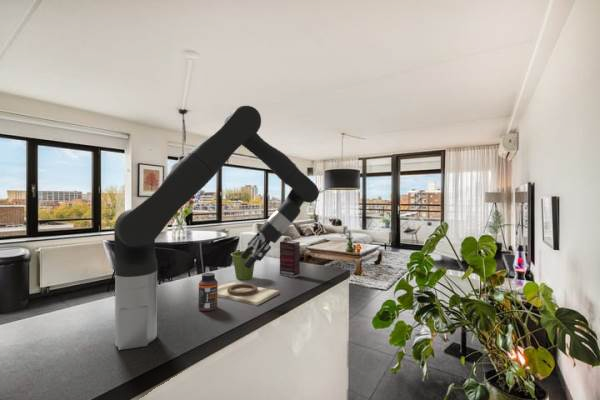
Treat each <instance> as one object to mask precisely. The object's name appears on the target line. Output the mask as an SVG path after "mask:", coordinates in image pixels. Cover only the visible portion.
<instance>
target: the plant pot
mask: <svg viewBox="0 0 600 400" xmlns="http://www.w3.org/2000/svg"><path fill="white" fill-rule="evenodd" d="M244 251H245V250H241V251H235V252H232V253H230V256H231V258H232V261H233V262H232V263H233V268H234V273H235V279H236V280H239V281H242V280H245V281H247V280H251V279H252V278H253V277H254V270H255V269H254V268H255V263H256V262H255V263H254V264H253V265H252V266H251V267H250V268H249V269H248V268H247V267H245V265H244V264H245V263H246V261H247V260H248V259H249V258H250V257H251V256H252V254H253V252H254V251H252V253H251V254H250V255H249V256H248V257H247V259H243V258H242V257H241V254H242V253H243V252H244Z"/></svg>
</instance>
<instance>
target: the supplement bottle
mask: <svg viewBox="0 0 600 400" xmlns="http://www.w3.org/2000/svg"><path fill="white" fill-rule="evenodd" d="M215 277H216V275H215V273H214V272H205V273H202V274H201V280H199V282H198V297H197V298H198V302H197V305H198V306H197V307H198V310H199V311H201V312H211V311H213V310H216V309H217V307H218V297H217V289H218V288H217V287H218V283H219V282H218V280H217V279H216V278H215Z"/></svg>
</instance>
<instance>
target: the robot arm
mask: <svg viewBox="0 0 600 400" xmlns="http://www.w3.org/2000/svg"><path fill="white" fill-rule="evenodd" d="M261 117H262V116H261V114H260V112H259V110H257V109H256V108H255V107H254V106H251V105H241V106H238V107H237V108H234V110H233V111H231V112H230V113H229V114H228V115H227V116H226V117H225V119H224V124H223V125H222V126H221V127H220V128H219V129H218V130H217V131H216V132H215V133H213V134H211V135H210V136H209V137H207V138H206V139H205V140H203V141H201V142H200V143H199V144H198V145H196V146H195V147H194V148H192V149H191V150H190V151H189V152H188V153H187V154H186V155H185V156H184V157H182V159H180V161H178V163H177V164H176V165H175V166H174V167H173V168H172V169H171V170H170V172H169V173H168V174H167V176H166V177H165V178H164V180H163V181H162V183H161V185H160V186H159V187H158V188H157V189H156V190H155V191H154V192H153V193H152V194H151V195H149V197H147V198H146V199H145V200H144V201H143V202H142V203H139V205H137V206H136V207H135V208H131V209H130V208H129V209H127V210H125V211H123V212H122V213H120V214H119V216H118V217H117V219H116V220H115V223H114V243H113V244H114V266H115V268H114V269H115V271H114V272H115V279H114V281H115V286H114V290H115V292H114V294H115V295H114V299H115V300H114V340H115V341H114V344H115V345H114V346H115V347H116V348H117V350H118V351H123V350H129V349H134V348H135V349H136V348H141V347H148V345H149V344H150V343H151V342H153V341H154V340H156V338H157V334H158V317H157V316H158V260H157V255H156V243H155V241H156V239H157V238H158V237H159V236H160V234H161V233H162V231H163V230H164V229H165V227H166V226H167V225H168V223H169V222H170V221H171V220H172V218H174V216H175V215H176V214H177V212H179V211H180V210H181V208H183V206H185V205H186V204H187V203H188V202H189V201H190V200H191V199H193V198H194V196H196V194H198V193H199V192H200V191H201V190H202V189H203V188H204V187H205V186H206V185H207V184H208V183H209V182H210V181H211V180H212V179H213V178H214V177H215V176H216V175H217V174H218V172H219V171H220V170H221V168H222V167H223V166H224V165H225V164H226V163H227V161H228V160H229V159H230V158H231V156H232V155H233V154H234V153H235V152H236V150H237V149H239V147H241V146H243V148H245V149H247V150H248V151H249V152H250V153H251V154H253V155H254V156H255V157H257V158H258V159H259V160H260V161H261V162H263V164H265V165H266V167H268V168H269V169H270V170H271V171H272V172H273V174H275V175H276V176H277V177H278V178H279V180H281V181H282V182H283V183H284V184H285V185H286V186H288V187H290V191H289V193H288V194H287V196H286V198H285V199H284V201H283V202H282V203H281V204H280V205H279V207H277V209H276V210H275V211H274V212H273V213H272V214H271V215H270V216H269V217H268V218H267V219H266V220H265V222H264V223H263V224H262V225H261V226H260V227H259V229H258V231H259V232H256V234H255V235H254V236H253V237H252V238H251V240H250V241H249V242H247V247H246V249H245V250H243V251H244V252H243V253H242V254H241V257H242V258H243V259H247V257H248V256H249V255H250V254H251V253H252V251H254V252H253V254H252V256H251V257H250V258H249V259H248V260H247V261H246V263H245V264H244V265H245V267H247V268H248V269H249V268H250V267H251V266H252V265H253V264H254V263H256V262H258V261H259V262H261V260H262V259H264V257H265V256H266V255H267V253H269V251H270V250H271V248H272V246H271V245H270V244H271V243H273V244H276V243H277V242H278V241H279V239H280V238H281V237H282V236H283V235H284V234H285V233H286V232H287V230H288V229H289V227H290V226H291V225H292V223H294V221H295V220H296V219H297V217H298V216H299V215H300V213H301V207H302V205H303V204H304V202H305V203H314V202H315V201H317V199H318V198H319V194H320V191H319V187H318V186H317V185H316V184H315V183H314V181H312V180H311V179H310V178H309V177H308V176H307V175H306V174H305V173H303V172H302V171H301V170H300V168H299V167H298V166H297V165H296V164H295V163H294V162H293V160H292V159H290V158H289V157H288V156H287V155H286V154H285V153H284V152H282V151H281V150H279V149H277V148H276V147H274V146H272V145H271V144H270V143H268V142H267V141H265V140H264V139H263V138H262V137H261V136H260V135H259V133H258V132H259V130H260V128H261V125H262V118H261ZM254 265H255V264H254Z"/></svg>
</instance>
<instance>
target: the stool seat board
mask: <svg viewBox="0 0 600 400" xmlns="http://www.w3.org/2000/svg"><path fill="white" fill-rule="evenodd" d="M217 288H218V289H217V298H218V297H219V298H223V299H226V300H231V301H236V302H241V303H244V304H249V305H253V306H260V304H263V303H264V302H266V301H268V300H270V299H272V298H273V297H275V296H277V295H279V294H280V290H276V289H272V288H265V287H260V286H257V285H255V284H252V283H239V282H234V281H229V282H227V283H224V284H220V285H219V286H218V287H217Z"/></svg>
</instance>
